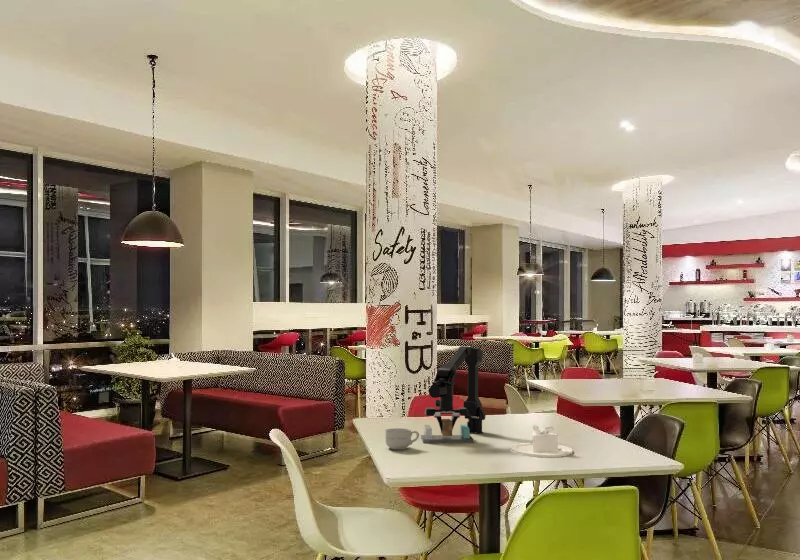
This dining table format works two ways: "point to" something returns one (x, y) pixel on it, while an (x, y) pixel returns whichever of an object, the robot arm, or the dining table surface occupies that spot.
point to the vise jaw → (465, 431)
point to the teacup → (399, 438)
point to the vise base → (442, 437)
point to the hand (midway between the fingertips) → (446, 431)
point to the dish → (542, 445)
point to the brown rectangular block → (446, 427)
